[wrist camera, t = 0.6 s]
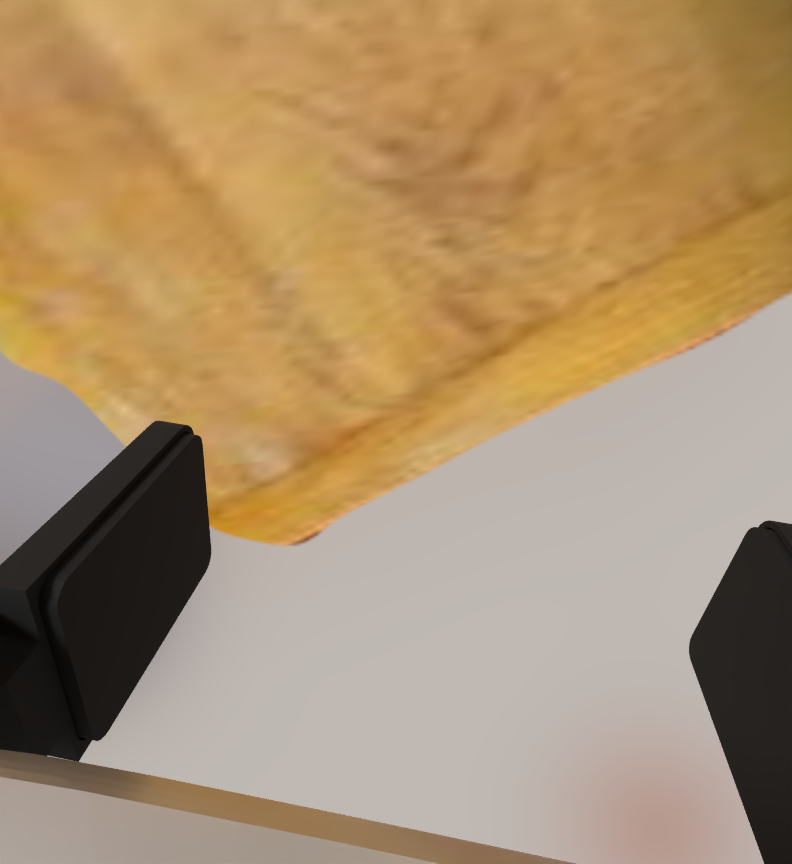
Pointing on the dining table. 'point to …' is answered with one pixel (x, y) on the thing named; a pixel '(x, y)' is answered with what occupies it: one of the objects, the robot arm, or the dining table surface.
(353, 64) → the dining table surface
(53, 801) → the robot arm
